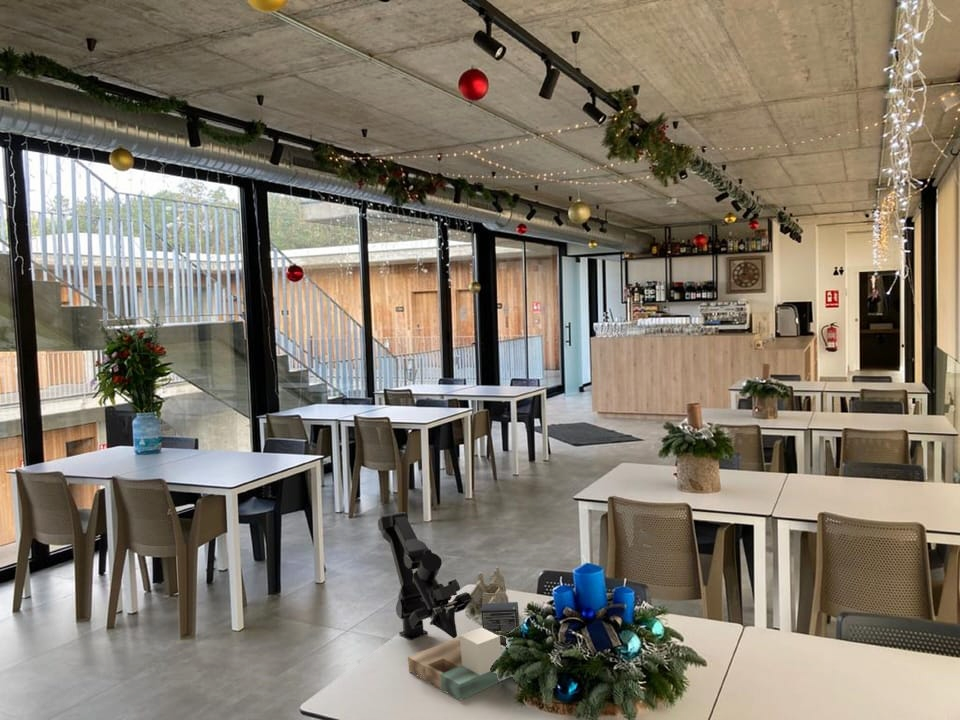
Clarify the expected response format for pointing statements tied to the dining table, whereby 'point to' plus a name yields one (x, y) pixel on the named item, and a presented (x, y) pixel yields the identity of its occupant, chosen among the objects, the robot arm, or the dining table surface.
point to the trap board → (450, 670)
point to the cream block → (479, 650)
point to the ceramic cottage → (486, 594)
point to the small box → (500, 617)
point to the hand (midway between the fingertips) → (455, 637)
